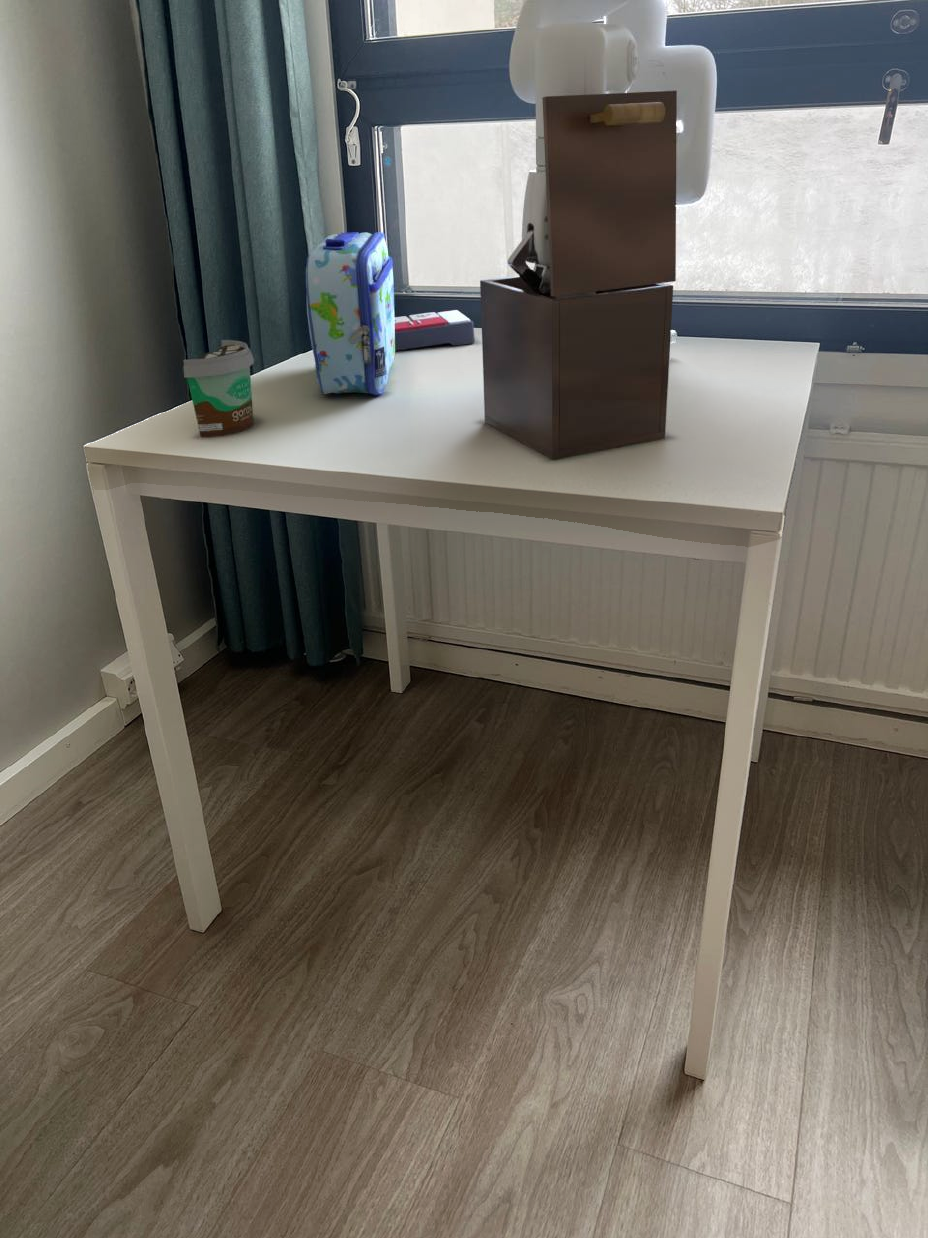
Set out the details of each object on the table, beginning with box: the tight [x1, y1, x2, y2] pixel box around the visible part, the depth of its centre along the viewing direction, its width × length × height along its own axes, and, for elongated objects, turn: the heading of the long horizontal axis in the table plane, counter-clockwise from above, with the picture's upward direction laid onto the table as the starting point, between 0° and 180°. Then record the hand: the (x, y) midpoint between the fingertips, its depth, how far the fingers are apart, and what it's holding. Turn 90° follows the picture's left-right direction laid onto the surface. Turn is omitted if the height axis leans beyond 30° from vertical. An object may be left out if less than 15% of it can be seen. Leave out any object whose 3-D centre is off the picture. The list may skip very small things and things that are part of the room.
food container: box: [182, 339, 255, 438], centre depth 125 cm, size 12×6×10 cm, turn 168°
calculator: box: [394, 309, 476, 352], centre depth 169 cm, size 11×4×15 cm
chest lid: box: [542, 91, 678, 297], centre depth 99 cm, size 19×15×5 cm
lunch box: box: [305, 231, 396, 396], centre depth 142 cm, size 26×11×21 cm, turn 178°
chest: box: [479, 275, 674, 461], centre depth 116 cm, size 18×15×17 cm
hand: (569, 321), depth 115 cm, fingers closed on energy drink can, 6 cm apart
